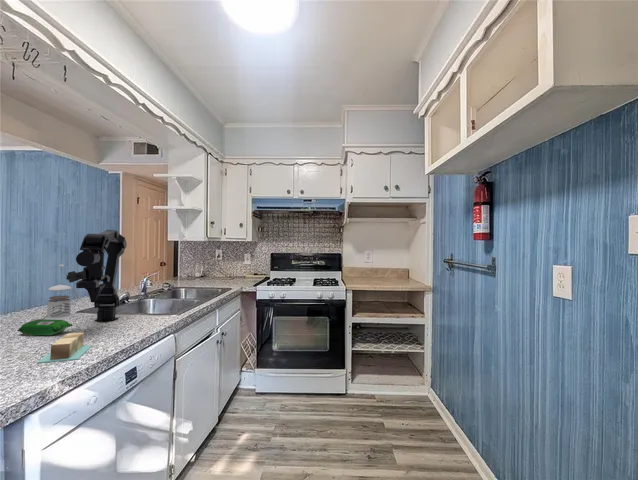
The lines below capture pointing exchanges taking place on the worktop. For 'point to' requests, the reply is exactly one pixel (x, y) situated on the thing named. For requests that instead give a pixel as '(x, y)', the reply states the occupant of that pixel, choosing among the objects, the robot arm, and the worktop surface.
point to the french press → (59, 303)
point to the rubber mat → (73, 357)
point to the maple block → (67, 346)
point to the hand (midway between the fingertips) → (93, 302)
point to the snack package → (44, 327)
